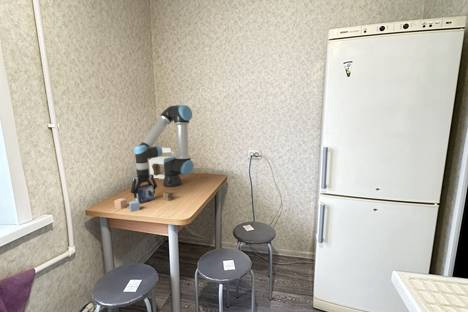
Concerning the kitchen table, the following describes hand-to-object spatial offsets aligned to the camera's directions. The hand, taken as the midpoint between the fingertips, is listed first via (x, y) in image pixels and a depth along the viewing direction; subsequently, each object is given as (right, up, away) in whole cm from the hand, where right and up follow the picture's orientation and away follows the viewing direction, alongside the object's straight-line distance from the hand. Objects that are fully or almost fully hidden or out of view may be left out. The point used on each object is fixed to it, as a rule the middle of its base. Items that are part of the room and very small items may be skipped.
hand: (145, 200), depth 168 cm
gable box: (-5, +10, +64) cm, 64 cm away
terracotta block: (-12, -3, -10) cm, 16 cm away
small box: (0, -1, 0) cm, 1 cm away
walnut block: (+15, 0, +2) cm, 16 cm away
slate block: (-1, -3, -15) cm, 16 cm away
